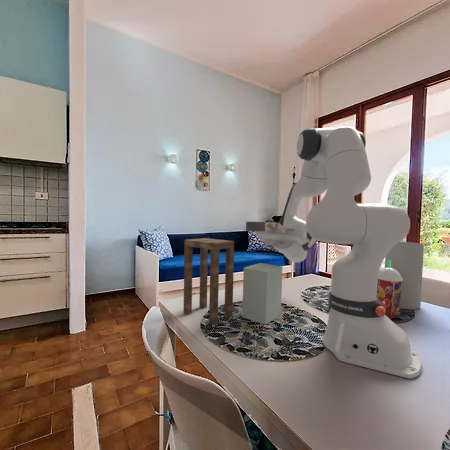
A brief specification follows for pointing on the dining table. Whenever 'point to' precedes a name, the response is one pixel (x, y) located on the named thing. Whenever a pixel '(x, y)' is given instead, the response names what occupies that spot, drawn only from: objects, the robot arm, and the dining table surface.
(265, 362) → the dining table surface
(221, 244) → the plant stand
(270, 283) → the pale green block
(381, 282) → the smoothie
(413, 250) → the cylinder vase
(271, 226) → the mallet
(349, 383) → the dining table surface
